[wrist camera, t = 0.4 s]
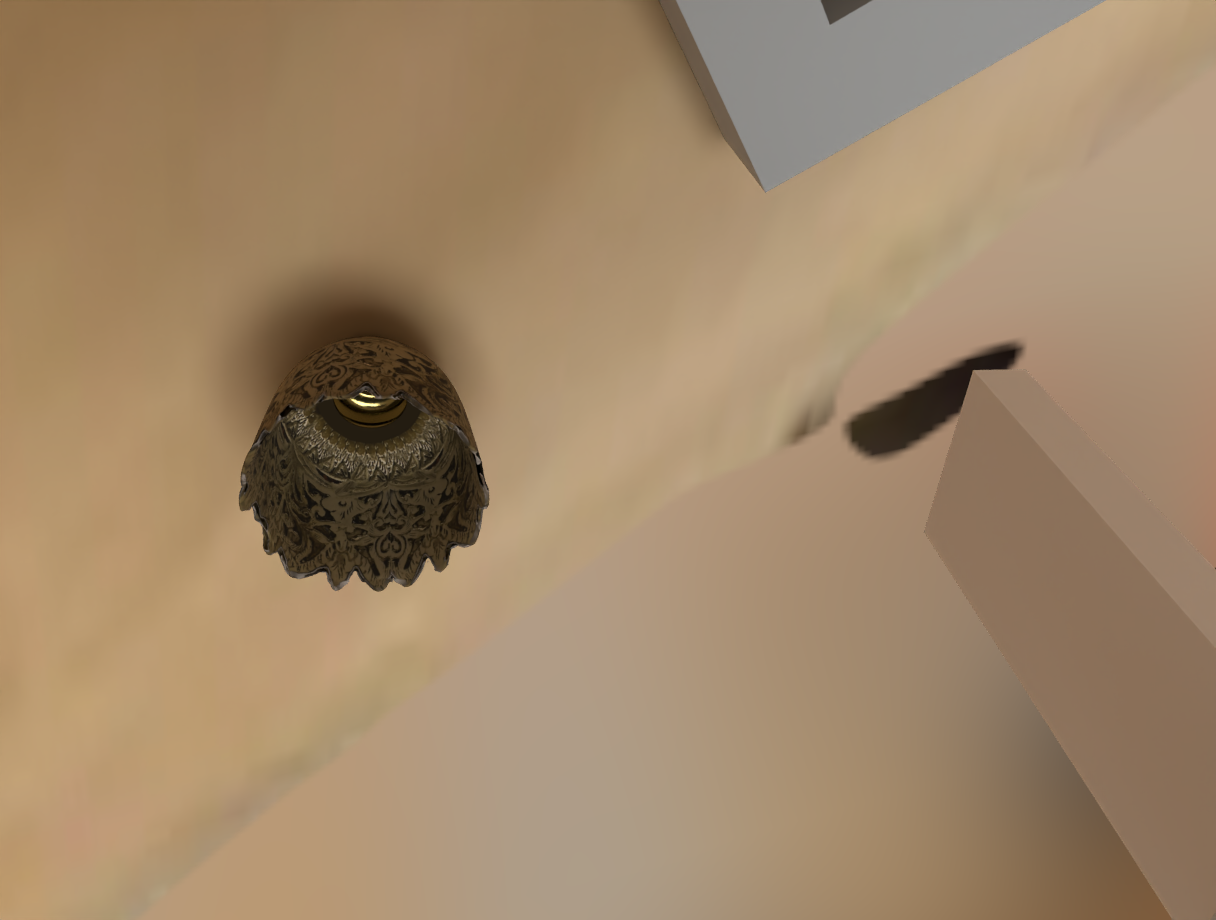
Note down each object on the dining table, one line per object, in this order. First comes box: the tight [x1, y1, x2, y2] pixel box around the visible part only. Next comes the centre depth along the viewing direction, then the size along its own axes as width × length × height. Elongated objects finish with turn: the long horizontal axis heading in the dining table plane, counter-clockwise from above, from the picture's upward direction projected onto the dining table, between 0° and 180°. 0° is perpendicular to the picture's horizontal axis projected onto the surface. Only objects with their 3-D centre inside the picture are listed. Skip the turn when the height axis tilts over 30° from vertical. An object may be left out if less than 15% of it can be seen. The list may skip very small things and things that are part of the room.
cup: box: [239, 336, 489, 592], centre depth 36 cm, size 8×7×8 cm
